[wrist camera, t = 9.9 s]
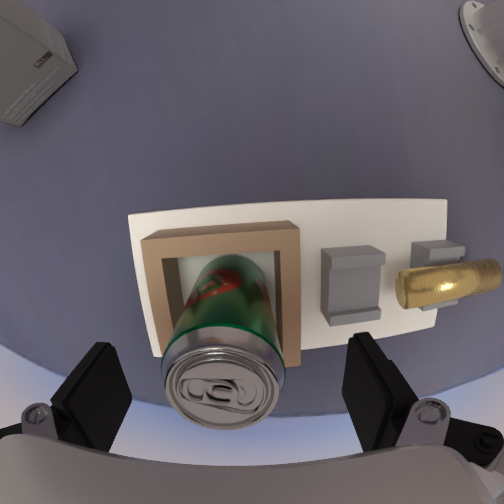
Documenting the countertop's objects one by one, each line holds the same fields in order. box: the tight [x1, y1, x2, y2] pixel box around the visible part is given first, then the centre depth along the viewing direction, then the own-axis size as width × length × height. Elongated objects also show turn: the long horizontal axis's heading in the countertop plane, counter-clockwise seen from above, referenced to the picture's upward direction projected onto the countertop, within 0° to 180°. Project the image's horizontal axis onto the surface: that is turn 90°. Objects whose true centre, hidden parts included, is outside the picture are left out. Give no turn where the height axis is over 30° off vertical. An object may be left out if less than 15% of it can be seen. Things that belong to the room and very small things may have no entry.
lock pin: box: [395, 258, 502, 309], centre depth 18 cm, size 10×3×3 cm, turn 94°
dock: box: [128, 198, 465, 367], centre depth 20 cm, size 26×12×5 cm, turn 94°
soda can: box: [161, 255, 286, 430], centre depth 16 cm, size 5×5×12 cm
